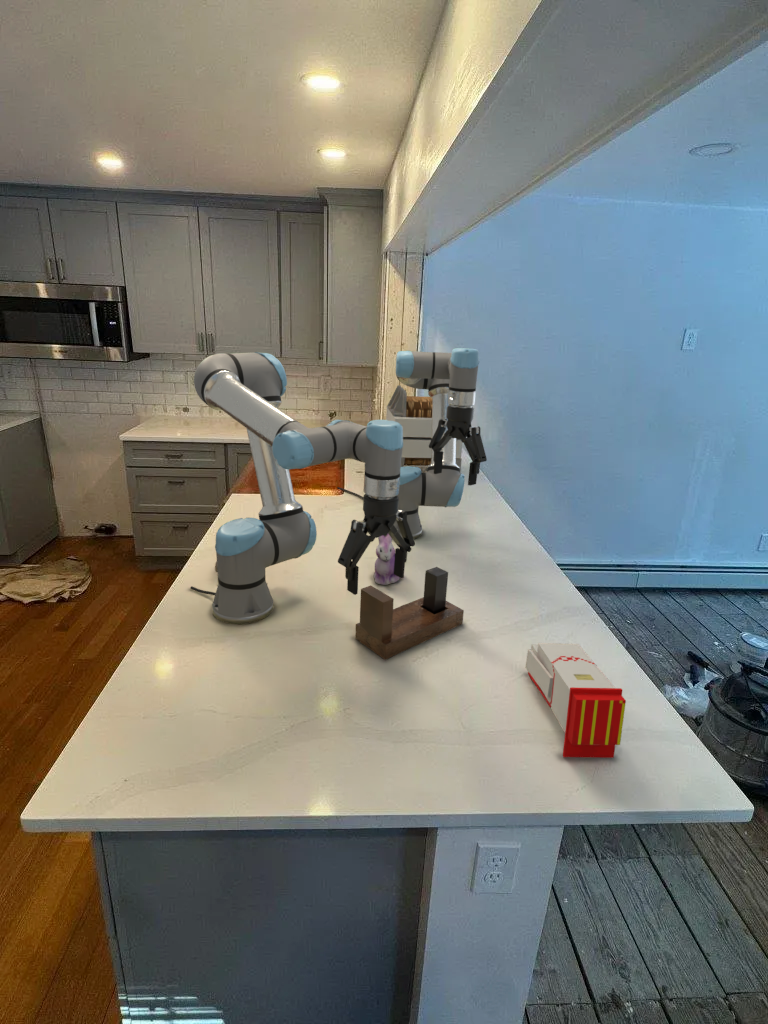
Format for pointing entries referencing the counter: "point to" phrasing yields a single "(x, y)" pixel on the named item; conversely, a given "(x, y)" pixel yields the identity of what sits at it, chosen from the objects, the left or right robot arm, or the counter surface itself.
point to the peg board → (400, 623)
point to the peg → (435, 590)
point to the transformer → (415, 427)
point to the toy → (578, 698)
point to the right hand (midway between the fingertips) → (454, 478)
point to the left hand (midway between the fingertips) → (376, 583)
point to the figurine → (385, 561)
